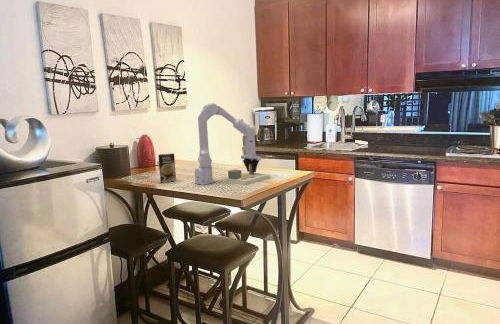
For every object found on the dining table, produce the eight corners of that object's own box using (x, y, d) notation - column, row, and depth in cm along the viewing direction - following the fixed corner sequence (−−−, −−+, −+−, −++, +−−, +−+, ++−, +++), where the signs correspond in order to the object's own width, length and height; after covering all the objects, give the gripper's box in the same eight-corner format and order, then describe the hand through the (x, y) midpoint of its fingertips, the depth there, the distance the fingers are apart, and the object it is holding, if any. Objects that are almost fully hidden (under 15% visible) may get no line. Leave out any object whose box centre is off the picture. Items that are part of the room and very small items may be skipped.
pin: (250, 175, 215) (250, 164, 213) (248, 174, 217) (247, 163, 216) (255, 174, 216) (254, 163, 215) (252, 173, 219) (252, 163, 217)
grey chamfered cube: (234, 179, 205) (234, 171, 204) (228, 178, 209) (227, 170, 208) (241, 177, 208) (241, 170, 208) (235, 176, 212) (234, 169, 211)
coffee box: (160, 183, 216) (157, 155, 213) (160, 181, 222) (158, 154, 220) (176, 181, 218) (174, 154, 215) (176, 179, 224) (174, 152, 221)
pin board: (244, 185, 198) (243, 175, 198) (225, 181, 209) (225, 173, 208) (270, 178, 212) (269, 169, 211) (251, 175, 223) (250, 167, 222)
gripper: (264, 148, 212) (265, 171, 214) (246, 147, 222) (247, 169, 224) (255, 149, 207) (256, 173, 209) (237, 148, 217) (239, 171, 219)
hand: (251, 171), depth 216 cm, fingers open, 4 cm apart
